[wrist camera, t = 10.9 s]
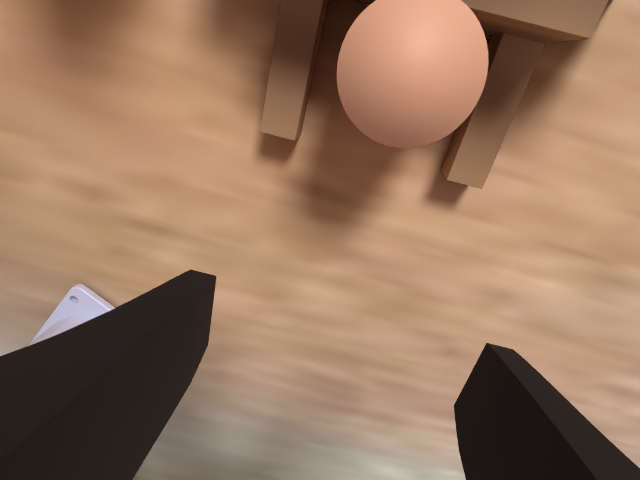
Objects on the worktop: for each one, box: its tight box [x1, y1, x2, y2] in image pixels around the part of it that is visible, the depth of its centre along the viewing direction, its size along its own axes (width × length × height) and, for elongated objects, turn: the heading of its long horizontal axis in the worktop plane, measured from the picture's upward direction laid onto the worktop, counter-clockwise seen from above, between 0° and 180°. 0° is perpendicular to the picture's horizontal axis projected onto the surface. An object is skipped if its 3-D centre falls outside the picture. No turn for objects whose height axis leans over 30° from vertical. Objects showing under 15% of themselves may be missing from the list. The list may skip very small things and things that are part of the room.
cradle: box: [260, 0, 609, 189], centre depth 14 cm, size 8×10×4 cm
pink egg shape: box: [337, 0, 488, 148], centre depth 13 cm, size 4×4×6 cm
